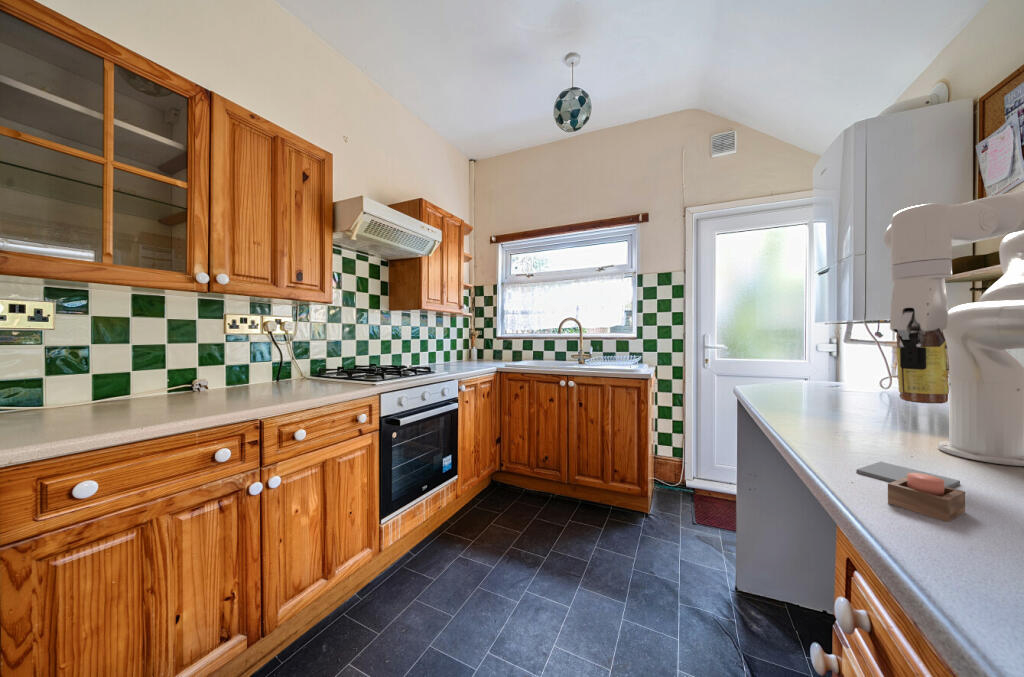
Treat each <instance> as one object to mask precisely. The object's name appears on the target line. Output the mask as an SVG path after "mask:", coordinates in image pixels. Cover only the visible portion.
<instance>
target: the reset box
mask: <svg viewBox="0 0 1024 677" xmlns="http://www.w3.org/2000/svg"><path fill="white" fill-rule="evenodd" d="M887 504H888V505H892V504H893V505H892V506H896V507H899V508H902V509H905V510H908V511H912V512H914V513H918V514H921V515H924V516H927V517H928V516H929V517H931V518H934V519H938V520H939V521H943V522H947V523H949V522H950V521H952V520H953V519H956V518H957V517H959V516H961V515H963V514H964V513H965V514H966V491H963V490H959V489H956V488H954V487H953V488H949V487H945V486H944V496H942V497H941V496H937V495H933V494H930V493H926V492H922V491H919V490H915V489H911V488H908V487H907V477H904V478H901V479H899V480H896V481H894V482H888V483H887Z"/></svg>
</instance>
